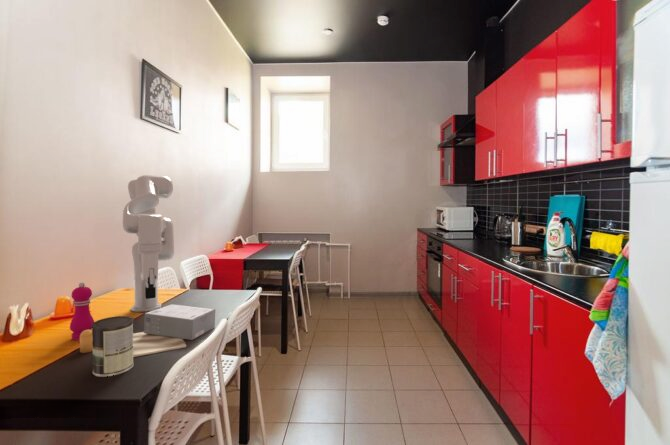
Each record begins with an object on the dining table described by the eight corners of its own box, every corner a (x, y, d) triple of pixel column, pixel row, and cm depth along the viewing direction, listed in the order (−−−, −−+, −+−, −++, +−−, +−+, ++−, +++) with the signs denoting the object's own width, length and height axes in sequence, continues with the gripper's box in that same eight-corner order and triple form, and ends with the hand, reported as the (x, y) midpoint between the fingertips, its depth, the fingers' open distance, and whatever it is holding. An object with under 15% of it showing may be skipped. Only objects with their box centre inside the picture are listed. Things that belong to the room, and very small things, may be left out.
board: (121, 336, 128) (121, 335, 127) (175, 328, 137) (175, 326, 137) (124, 358, 109) (124, 357, 109) (186, 347, 119) (186, 345, 119)
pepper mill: (99, 335, 129) (98, 281, 128) (79, 342, 122) (78, 285, 121) (85, 332, 131) (84, 279, 131) (65, 339, 125) (64, 283, 124)
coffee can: (84, 377, 97) (83, 327, 96) (105, 361, 107) (104, 316, 107) (122, 376, 98) (122, 327, 97) (140, 360, 108) (139, 315, 108)
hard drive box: (142, 334, 128) (191, 340, 124) (143, 313, 128) (192, 319, 123) (171, 322, 143) (215, 327, 139) (172, 303, 143) (216, 308, 139)
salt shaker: (80, 349, 116) (80, 329, 116) (94, 347, 118) (94, 326, 118) (79, 353, 113) (79, 332, 112) (94, 351, 115) (94, 330, 115)
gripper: (136, 246, 132) (137, 294, 133) (140, 251, 120) (140, 304, 120) (158, 245, 136) (159, 292, 137) (164, 249, 124) (164, 301, 125)
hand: (150, 297), depth 129 cm, fingers closed
